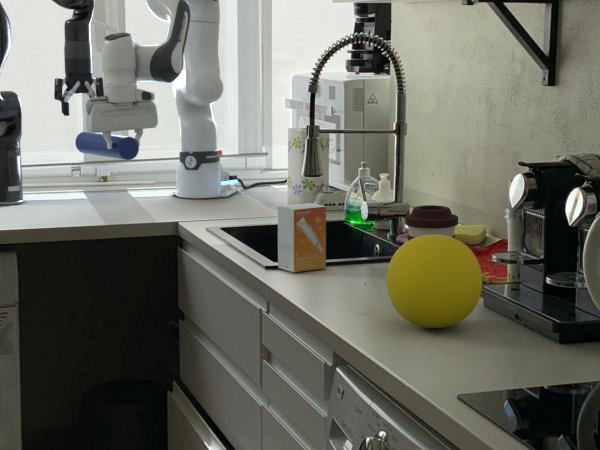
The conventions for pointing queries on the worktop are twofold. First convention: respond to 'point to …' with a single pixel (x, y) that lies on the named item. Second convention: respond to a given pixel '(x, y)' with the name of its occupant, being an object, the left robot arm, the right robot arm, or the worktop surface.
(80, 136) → the rod
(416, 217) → the coffee cup
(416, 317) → the toy
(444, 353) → the worktop surface
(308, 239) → the small box
